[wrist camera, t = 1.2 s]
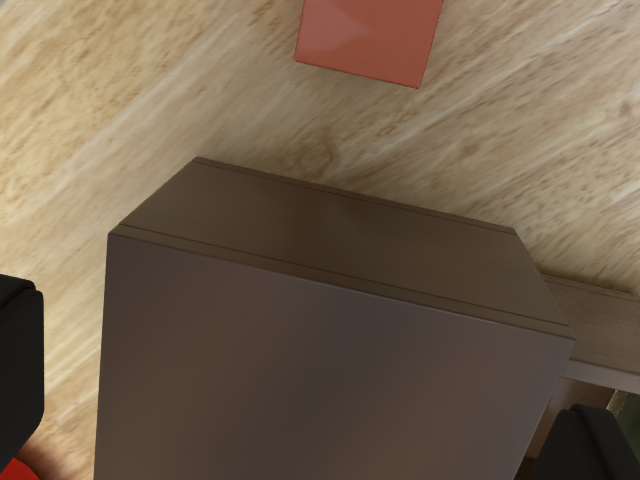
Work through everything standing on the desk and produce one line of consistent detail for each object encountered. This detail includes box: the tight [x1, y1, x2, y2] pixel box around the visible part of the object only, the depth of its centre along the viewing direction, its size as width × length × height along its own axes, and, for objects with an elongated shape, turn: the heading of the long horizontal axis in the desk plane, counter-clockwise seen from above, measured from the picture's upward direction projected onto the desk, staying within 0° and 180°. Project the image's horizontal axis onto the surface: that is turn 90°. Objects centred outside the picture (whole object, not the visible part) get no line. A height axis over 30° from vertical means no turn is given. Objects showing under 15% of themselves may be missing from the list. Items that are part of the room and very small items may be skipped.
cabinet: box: [93, 157, 576, 480], centre depth 24 cm, size 15×13×9 cm
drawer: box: [514, 273, 640, 480], centre depth 24 cm, size 18×11×7 cm, turn 78°
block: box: [294, 0, 443, 89], centre depth 21 cm, size 4×4×4 cm
